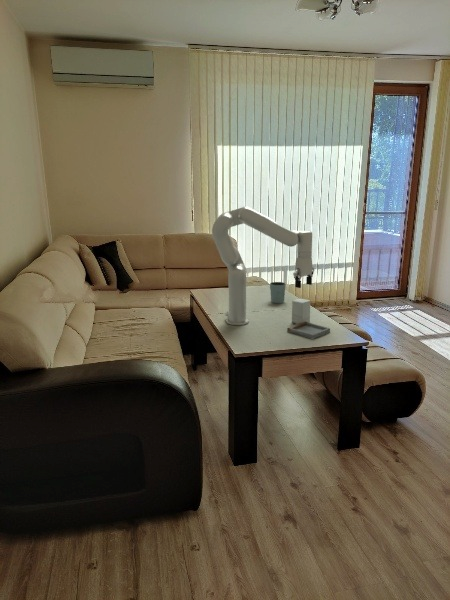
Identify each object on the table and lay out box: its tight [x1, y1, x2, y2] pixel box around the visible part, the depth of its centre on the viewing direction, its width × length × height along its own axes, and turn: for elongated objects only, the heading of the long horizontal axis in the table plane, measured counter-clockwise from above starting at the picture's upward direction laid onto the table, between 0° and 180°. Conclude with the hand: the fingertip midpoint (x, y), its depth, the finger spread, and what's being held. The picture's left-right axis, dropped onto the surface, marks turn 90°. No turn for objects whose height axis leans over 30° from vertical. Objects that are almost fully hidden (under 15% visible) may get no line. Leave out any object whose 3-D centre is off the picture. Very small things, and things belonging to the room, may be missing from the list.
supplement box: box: [291, 298, 311, 325], centre depth 238 cm, size 7×7×13 cm
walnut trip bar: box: [286, 322, 307, 333], centre depth 229 cm, size 2×15×2 cm, turn 134°
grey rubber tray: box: [289, 322, 331, 340], centre depth 224 cm, size 14×15×2 cm
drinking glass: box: [269, 281, 286, 304], centre depth 281 cm, size 10×10×12 cm
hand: (303, 285), depth 233 cm, fingers open, 9 cm apart
